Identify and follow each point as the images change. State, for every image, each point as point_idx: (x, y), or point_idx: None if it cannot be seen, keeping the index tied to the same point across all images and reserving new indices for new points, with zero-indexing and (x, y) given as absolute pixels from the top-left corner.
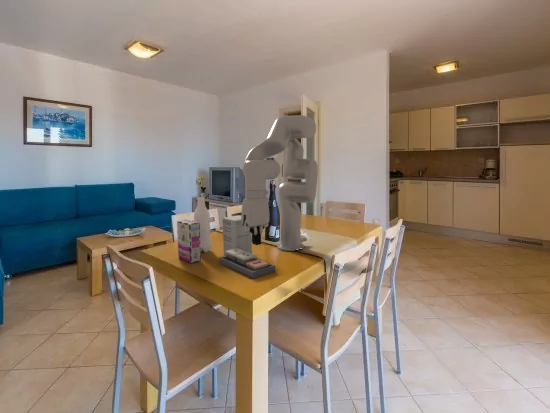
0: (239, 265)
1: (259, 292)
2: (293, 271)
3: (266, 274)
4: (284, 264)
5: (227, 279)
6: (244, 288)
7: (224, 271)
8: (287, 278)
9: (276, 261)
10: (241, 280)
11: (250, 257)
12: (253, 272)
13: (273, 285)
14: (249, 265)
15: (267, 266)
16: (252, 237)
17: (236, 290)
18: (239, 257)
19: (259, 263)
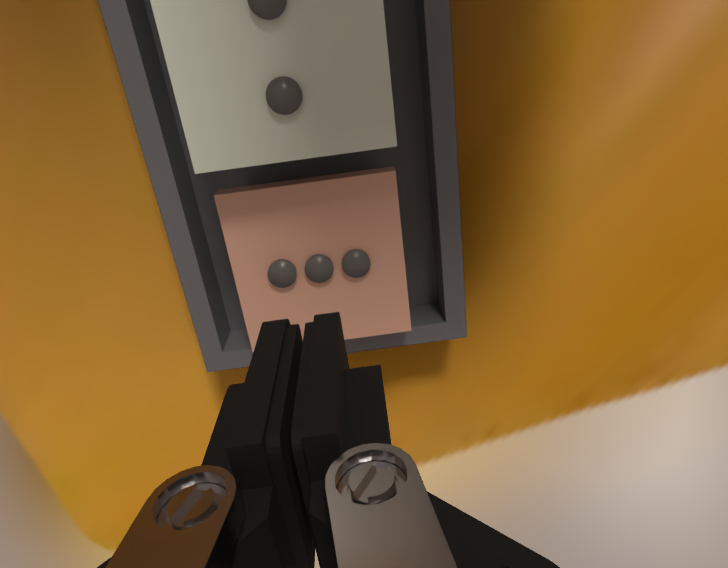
0: (161, 141)
1: None
2: (570, 373)
3: None
4: (644, 203)
5: (20, 242)
6: (103, 441)
7: (33, 26)
8: (441, 447)
9: (659, 76)
10: (128, 320)
11: (296, 157)
12: (216, 370)
13: None
14: (232, 259)
15: (436, 247)
16: (215, 452)
17: (42, 442)
18: (170, 62)
19: (332, 296)
